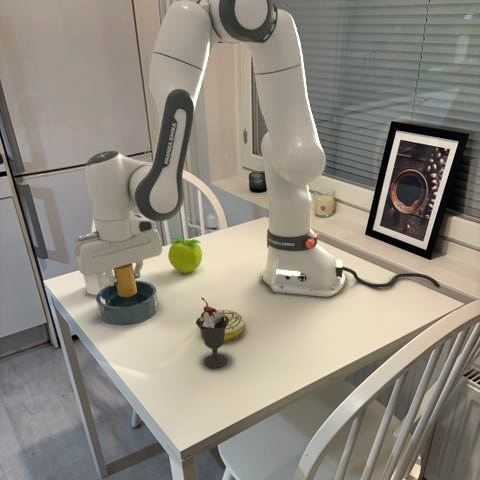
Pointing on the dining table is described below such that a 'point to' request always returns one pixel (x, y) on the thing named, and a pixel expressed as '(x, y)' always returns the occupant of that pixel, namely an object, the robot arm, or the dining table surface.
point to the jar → (97, 282)
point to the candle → (125, 280)
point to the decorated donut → (232, 324)
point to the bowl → (127, 304)
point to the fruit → (185, 254)
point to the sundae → (213, 334)
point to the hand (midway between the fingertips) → (125, 280)
